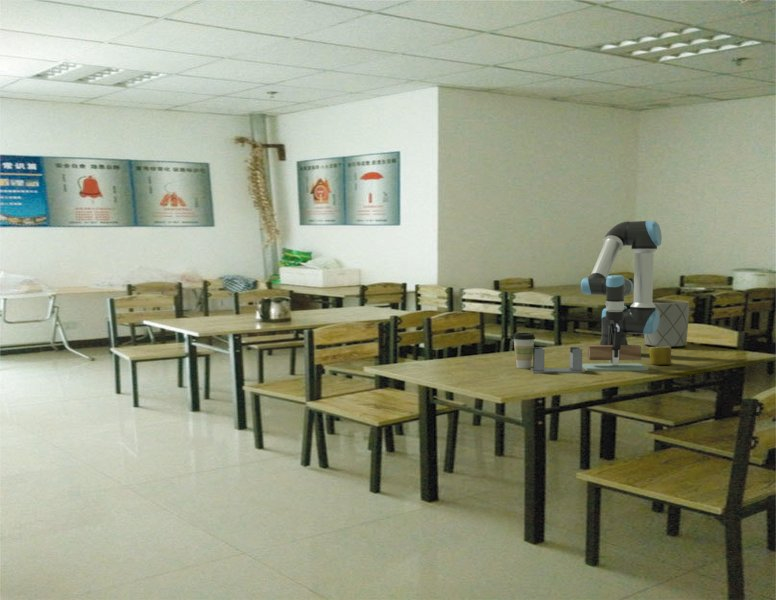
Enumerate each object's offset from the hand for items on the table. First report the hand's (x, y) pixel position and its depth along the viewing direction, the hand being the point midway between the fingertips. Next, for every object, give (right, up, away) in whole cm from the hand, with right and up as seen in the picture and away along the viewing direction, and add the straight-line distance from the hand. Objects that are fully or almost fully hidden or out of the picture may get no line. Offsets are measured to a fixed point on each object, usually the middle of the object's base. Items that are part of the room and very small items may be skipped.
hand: (614, 363), depth 332 cm
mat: (0, -2, 0) cm, 2 cm away
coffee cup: (-39, -2, +5) cm, 39 cm away
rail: (0, +2, 0) cm, 2 cm away
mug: (+24, -1, +10) cm, 26 cm away
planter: (+46, +4, +64) cm, 79 cm away
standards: (-26, -3, -6) cm, 27 cm away
